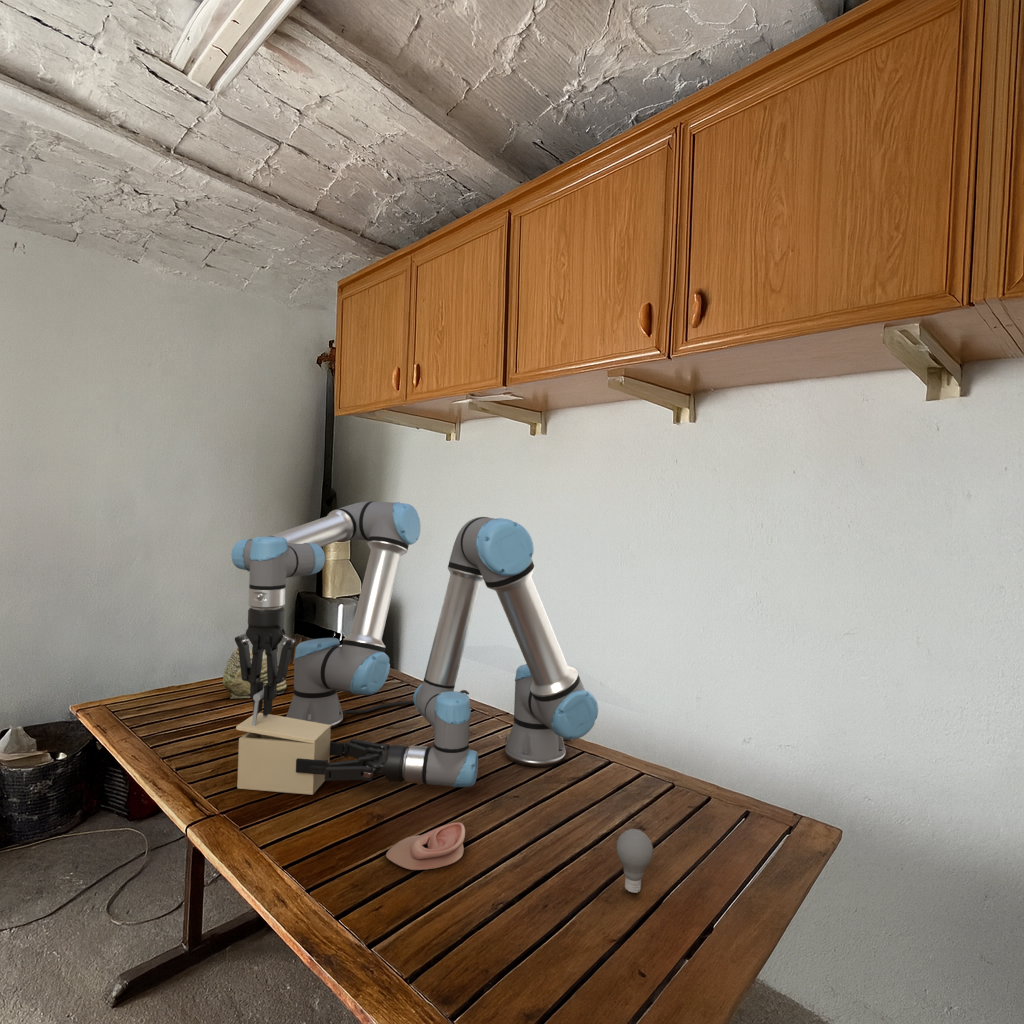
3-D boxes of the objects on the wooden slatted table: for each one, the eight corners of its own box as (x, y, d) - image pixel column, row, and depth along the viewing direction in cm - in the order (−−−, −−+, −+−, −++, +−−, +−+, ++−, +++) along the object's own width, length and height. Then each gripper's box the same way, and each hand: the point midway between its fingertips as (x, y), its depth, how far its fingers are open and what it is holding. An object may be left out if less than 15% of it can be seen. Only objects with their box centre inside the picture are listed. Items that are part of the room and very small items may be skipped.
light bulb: (610, 879, 108) (613, 822, 108) (644, 879, 109) (647, 822, 109) (619, 902, 102) (622, 840, 102) (655, 901, 103) (658, 840, 103)
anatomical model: (379, 842, 110) (403, 810, 121) (378, 864, 110) (403, 831, 121) (452, 854, 107) (471, 821, 118) (452, 877, 107) (470, 842, 118)
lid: (235, 729, 136) (240, 694, 135) (256, 715, 145) (261, 681, 145) (314, 744, 134) (319, 707, 134) (330, 728, 143) (335, 694, 143)
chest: (237, 788, 136) (238, 738, 136) (257, 770, 145) (259, 723, 145) (312, 794, 134) (314, 744, 134) (329, 776, 144) (330, 728, 143)
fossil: (218, 695, 195) (220, 647, 195) (278, 685, 208) (279, 640, 207) (228, 703, 189) (230, 653, 188) (289, 692, 201) (290, 645, 201)
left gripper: (225, 607, 136) (221, 716, 137) (291, 612, 135) (287, 721, 136) (243, 602, 144) (239, 705, 144) (305, 606, 142) (301, 710, 143)
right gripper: (392, 805, 127) (283, 795, 128) (417, 760, 148) (324, 753, 150) (393, 767, 126) (284, 759, 128) (418, 728, 148) (325, 721, 150)
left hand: (262, 712), depth 140 cm, fingers closed on lid, 2 cm apart
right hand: (306, 755), depth 139 cm, fingers closed on chest, 9 cm apart
